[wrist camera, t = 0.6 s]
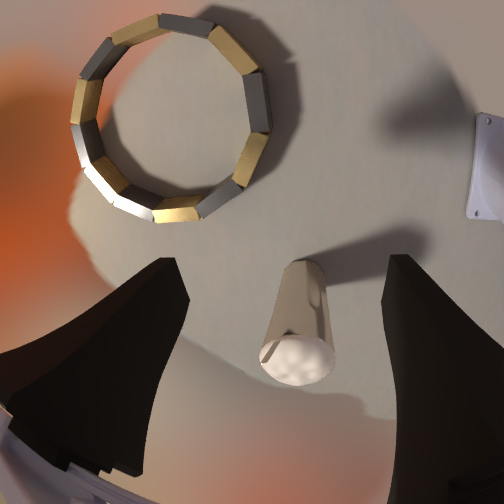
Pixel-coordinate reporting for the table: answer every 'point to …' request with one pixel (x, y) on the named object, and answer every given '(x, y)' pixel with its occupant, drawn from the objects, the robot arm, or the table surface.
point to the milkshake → (299, 328)
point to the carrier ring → (90, 138)
